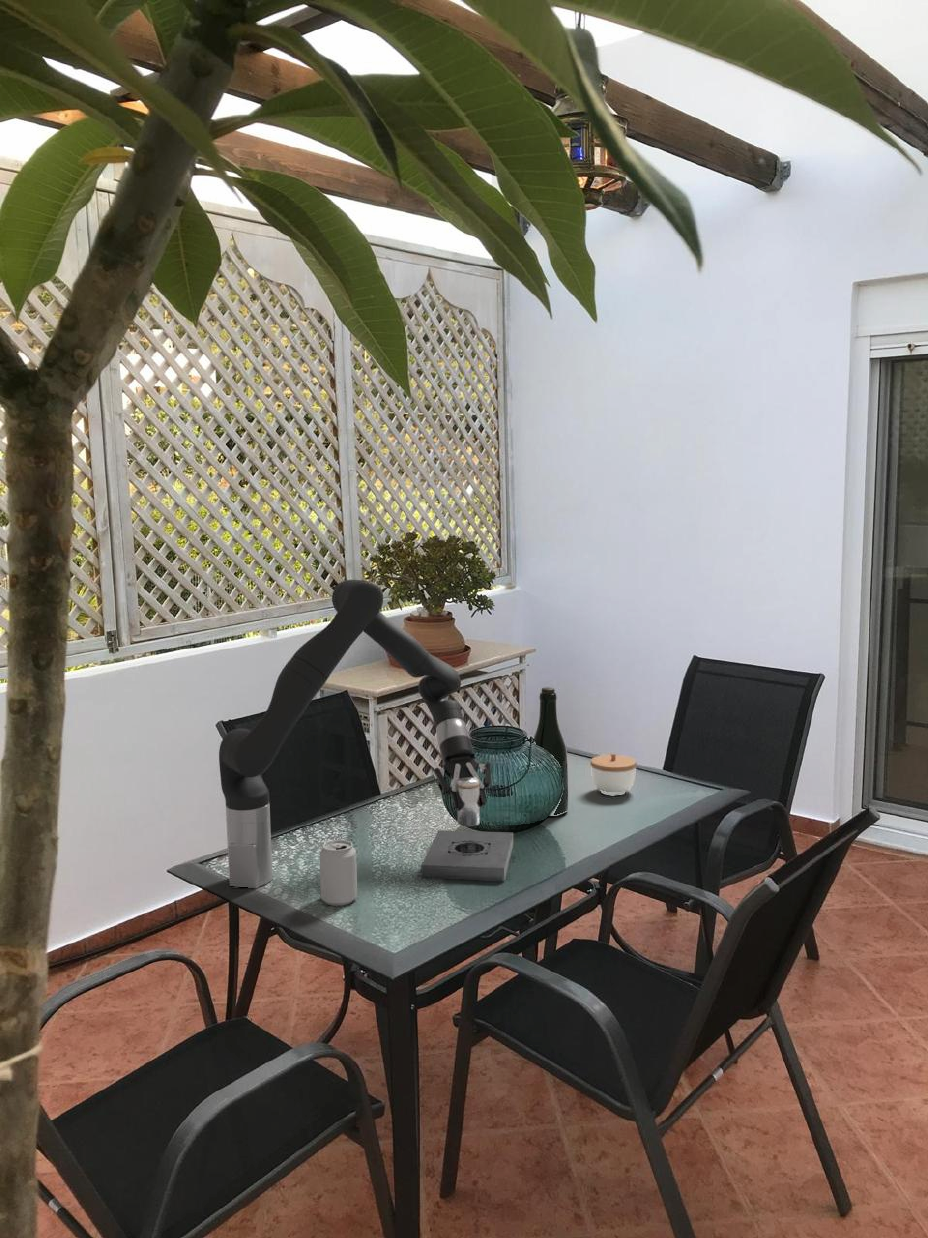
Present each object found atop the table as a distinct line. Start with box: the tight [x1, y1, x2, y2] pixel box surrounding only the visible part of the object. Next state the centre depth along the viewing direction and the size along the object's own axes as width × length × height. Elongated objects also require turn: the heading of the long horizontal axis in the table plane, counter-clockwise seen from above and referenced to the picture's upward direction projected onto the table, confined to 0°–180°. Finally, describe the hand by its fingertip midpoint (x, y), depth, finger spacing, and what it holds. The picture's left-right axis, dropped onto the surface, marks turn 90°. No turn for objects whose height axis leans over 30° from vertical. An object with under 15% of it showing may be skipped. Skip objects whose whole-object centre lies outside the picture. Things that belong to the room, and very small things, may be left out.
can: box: [318, 839, 358, 907], centre depth 199 cm, size 8×8×12 cm
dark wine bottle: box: [532, 686, 570, 815], centre depth 251 cm, size 10×10×33 cm
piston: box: [457, 777, 481, 827], centre depth 218 cm, size 5×5×10 cm
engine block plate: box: [421, 829, 514, 882], centre depth 220 cm, size 22×18×3 cm
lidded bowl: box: [590, 752, 637, 792], centre depth 268 cm, size 13×13×11 cm
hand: (471, 807), depth 217 cm, fingers closed on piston, 5 cm apart
